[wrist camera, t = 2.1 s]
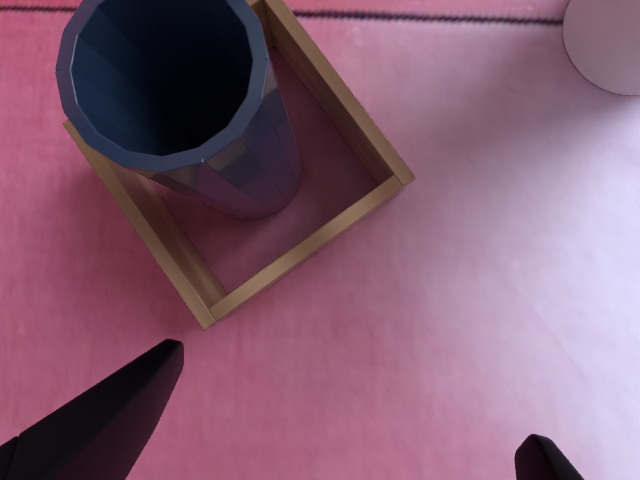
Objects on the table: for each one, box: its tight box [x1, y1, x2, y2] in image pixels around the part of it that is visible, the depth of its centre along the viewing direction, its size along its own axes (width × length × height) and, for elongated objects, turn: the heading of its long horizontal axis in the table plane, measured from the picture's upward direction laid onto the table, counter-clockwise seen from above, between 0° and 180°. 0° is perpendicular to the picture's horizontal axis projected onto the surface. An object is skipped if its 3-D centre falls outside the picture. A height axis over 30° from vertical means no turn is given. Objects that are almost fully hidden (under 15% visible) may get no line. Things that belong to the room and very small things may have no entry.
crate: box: [63, 0, 416, 330], centre depth 22 cm, size 14×14×4 cm
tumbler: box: [55, 0, 302, 219], centre depth 17 cm, size 6×6×13 cm
